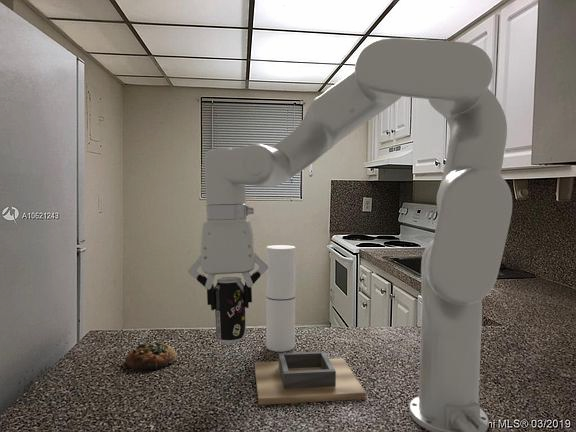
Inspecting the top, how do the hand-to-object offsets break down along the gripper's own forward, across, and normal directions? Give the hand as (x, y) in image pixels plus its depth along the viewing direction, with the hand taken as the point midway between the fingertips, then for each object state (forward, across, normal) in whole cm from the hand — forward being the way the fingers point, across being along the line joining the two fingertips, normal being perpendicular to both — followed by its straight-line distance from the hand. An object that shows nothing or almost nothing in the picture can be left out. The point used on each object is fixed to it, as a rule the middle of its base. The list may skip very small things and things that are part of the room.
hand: (230, 306), depth 80 cm
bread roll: (+16, +18, -16) cm, 29 cm away
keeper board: (+17, -15, -2) cm, 22 cm away
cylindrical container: (+17, -12, -22) cm, 30 cm away
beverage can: (+7, 0, 0) cm, 7 cm away
